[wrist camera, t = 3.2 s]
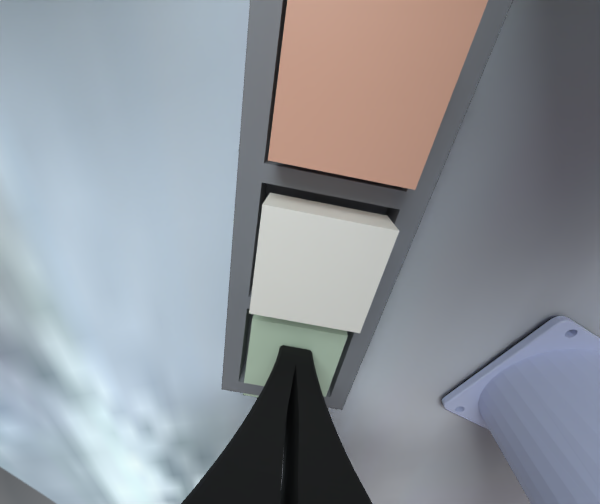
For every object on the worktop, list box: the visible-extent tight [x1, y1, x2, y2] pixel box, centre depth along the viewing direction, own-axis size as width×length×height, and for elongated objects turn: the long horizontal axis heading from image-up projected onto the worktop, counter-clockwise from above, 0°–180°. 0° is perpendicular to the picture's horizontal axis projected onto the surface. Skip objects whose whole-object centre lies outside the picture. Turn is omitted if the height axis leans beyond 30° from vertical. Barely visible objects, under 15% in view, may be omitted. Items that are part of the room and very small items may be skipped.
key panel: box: [222, 0, 513, 410], centre depth 11 cm, size 17×6×2 cm, turn 170°
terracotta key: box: [268, 0, 488, 190], centre depth 7 cm, size 4×4×1 cm
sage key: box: [244, 314, 348, 397], centre depth 12 cm, size 4×4×1 cm
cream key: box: [249, 193, 399, 333], centre depth 9 cm, size 4×4×1 cm
